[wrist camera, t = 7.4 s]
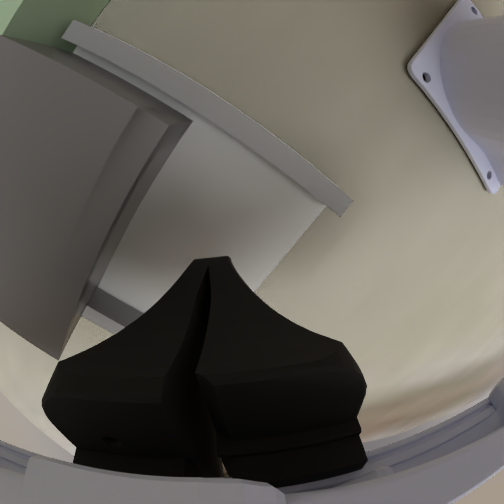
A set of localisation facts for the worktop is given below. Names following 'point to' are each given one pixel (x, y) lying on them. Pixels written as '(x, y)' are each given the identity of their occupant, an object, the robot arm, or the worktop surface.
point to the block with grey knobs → (186, 173)
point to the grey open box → (68, 181)
